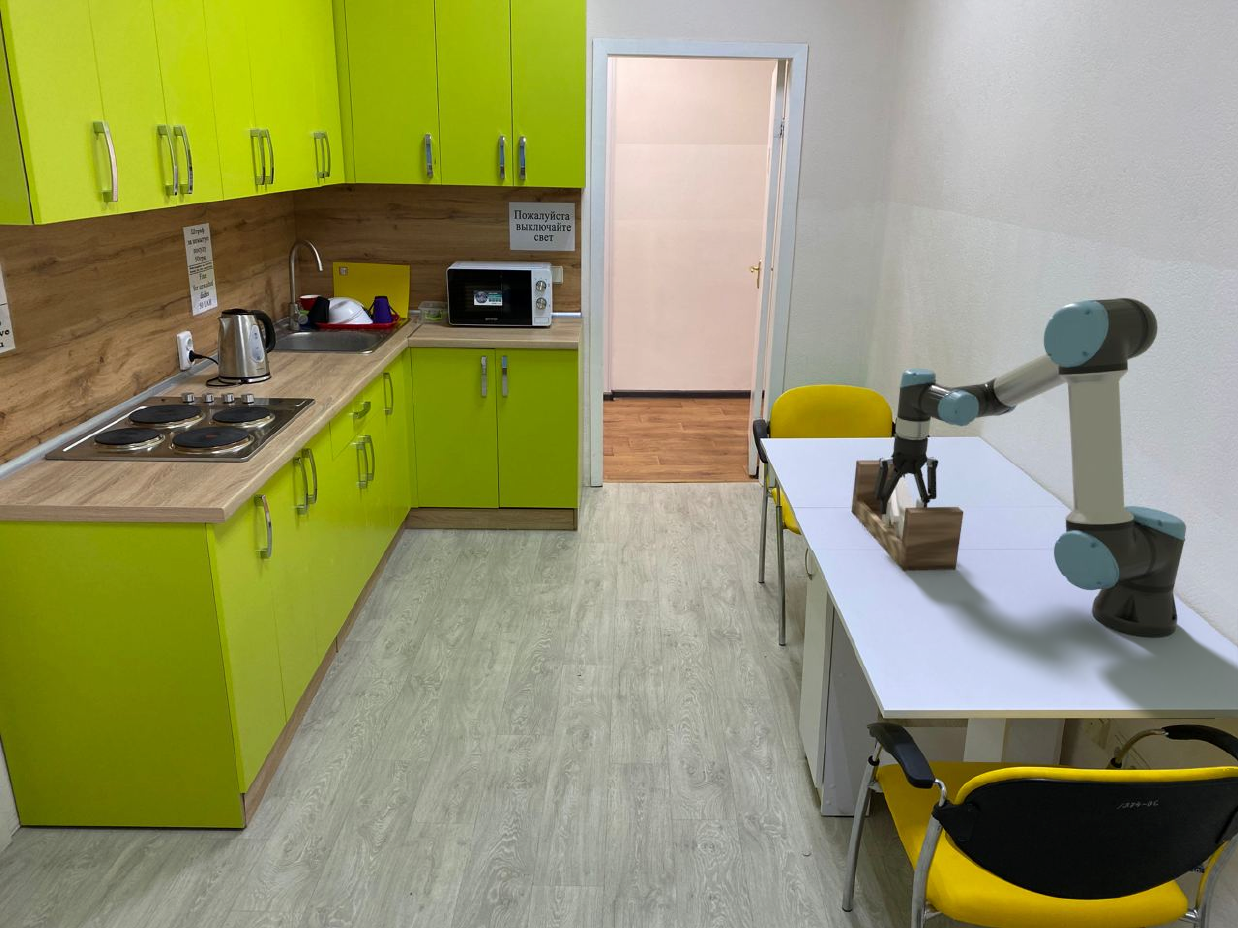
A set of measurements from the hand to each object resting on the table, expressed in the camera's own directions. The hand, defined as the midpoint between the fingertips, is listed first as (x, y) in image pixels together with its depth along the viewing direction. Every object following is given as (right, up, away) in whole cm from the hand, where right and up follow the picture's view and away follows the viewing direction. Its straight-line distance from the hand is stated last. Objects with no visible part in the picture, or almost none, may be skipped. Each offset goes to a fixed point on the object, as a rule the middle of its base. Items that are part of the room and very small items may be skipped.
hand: (901, 525), depth 231 cm
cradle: (0, -3, +1) cm, 3 cm away
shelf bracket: (0, -2, +2) cm, 3 cm away
